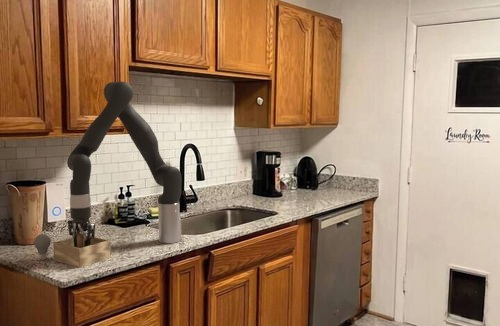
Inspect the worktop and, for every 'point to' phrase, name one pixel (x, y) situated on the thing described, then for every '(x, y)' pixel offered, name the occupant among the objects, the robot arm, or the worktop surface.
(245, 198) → the worktop surface
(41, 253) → the light bulb
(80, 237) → the peg
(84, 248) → the crate
